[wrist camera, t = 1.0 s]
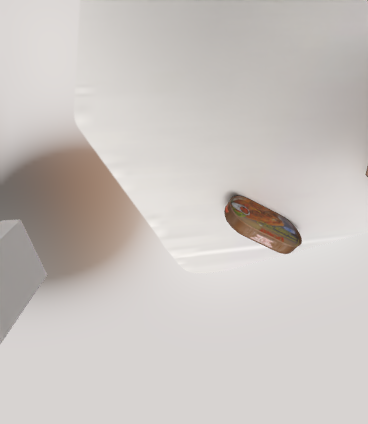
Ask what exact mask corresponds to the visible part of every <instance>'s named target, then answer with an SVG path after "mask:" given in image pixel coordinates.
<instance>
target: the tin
mask: <svg viewBox="0 0 368 424" xmlns="http://www.w3.org/2000/svg"><path fill="white" fill-rule="evenodd" d="M225 217H226V220H227V222H228V223H229V224H230V226H231V227H232V228H233V229H234V230H236V231H237V232H238V233H240V234H241V235H243V236H245V237H247V238H249V239H251V240H253V241H256V242H258V243H260V244H262V245H264V246H266V247H268V248H270V249H272V250H274V251H277V252H279V253H283V254H288V253H290V252H292V251H293V250H294V249H295V248H296V247H297V246H299V245H300V244H301V242H302V240H301V236H300V234H299V232H298V230H297V229H296V228H295V227H294V225H293V224H292V223H291V222H290V221H289V220H287V219H286V218H285V217H283V216H281V215H280V214H278V213H276V212H274V211H272V210H270V209H268V208H266V207H264V206H262V205H260V204H258V203H256V202H254V201H252V200H250V199H248V198H246V197H242V196H234V197H232V198H231V199H230V202H229V203H228V204H227V206H226V207H225Z"/></svg>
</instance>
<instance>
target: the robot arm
mask: <svg viewBox="0 0 368 424" xmlns="http://www.w3.org/2000/svg"><path fill="white" fill-rule="evenodd" d="M46 276H47V273H46V271H45V269H44V267H43V265H42V263H41V261H40V259H39V257H38V255H37V253H36V251H35V248H34V246H33V245H32V242H31V240H30V238H29V236H28V234H27V232H26V230H25V228H24V226H23V224H22V222H21V220H3V221H1V222H0V344H1V342H2V341H3V339H4V338H5V337H6V335H7V334H8V332H9V331H10V329H11V328H12V326H13V325H14V323H15V322H16V320H17V319H18V317H19V316H20V314H21V313H22V311H23V310H24V308H25V307H26V305H27V304H28V303H29V301H30V300H31V298H32V297H33V295H34V294H35V292H36V291H37V289H38V288H39V286H40V285H41V283H42V282H43V280H44V279H45V277H46Z"/></svg>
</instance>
